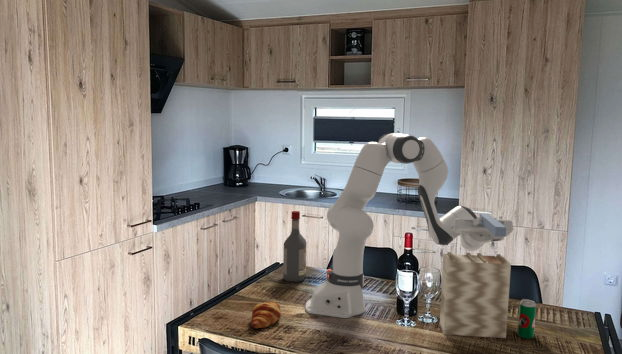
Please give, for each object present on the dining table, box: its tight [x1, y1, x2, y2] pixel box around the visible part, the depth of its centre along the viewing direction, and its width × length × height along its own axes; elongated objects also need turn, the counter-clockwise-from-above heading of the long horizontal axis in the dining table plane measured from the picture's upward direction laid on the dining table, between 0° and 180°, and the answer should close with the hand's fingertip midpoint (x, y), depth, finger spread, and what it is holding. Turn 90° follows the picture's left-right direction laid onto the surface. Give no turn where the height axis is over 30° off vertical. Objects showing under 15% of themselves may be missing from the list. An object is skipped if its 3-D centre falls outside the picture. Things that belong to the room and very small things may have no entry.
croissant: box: [250, 301, 282, 329], centre depth 175 cm, size 21×10×8 cm, turn 163°
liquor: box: [282, 210, 307, 283], centre depth 219 cm, size 9×9×30 cm
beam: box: [479, 213, 507, 238], centre depth 168 cm, size 3×22×3 cm, turn 174°
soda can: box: [517, 298, 537, 340], centre depth 166 cm, size 5×5×12 cm
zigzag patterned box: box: [439, 251, 512, 339], centre depth 169 cm, size 20×9×26 cm, turn 84°
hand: (487, 219), depth 173 cm, fingers closed on beam, 3 cm apart
